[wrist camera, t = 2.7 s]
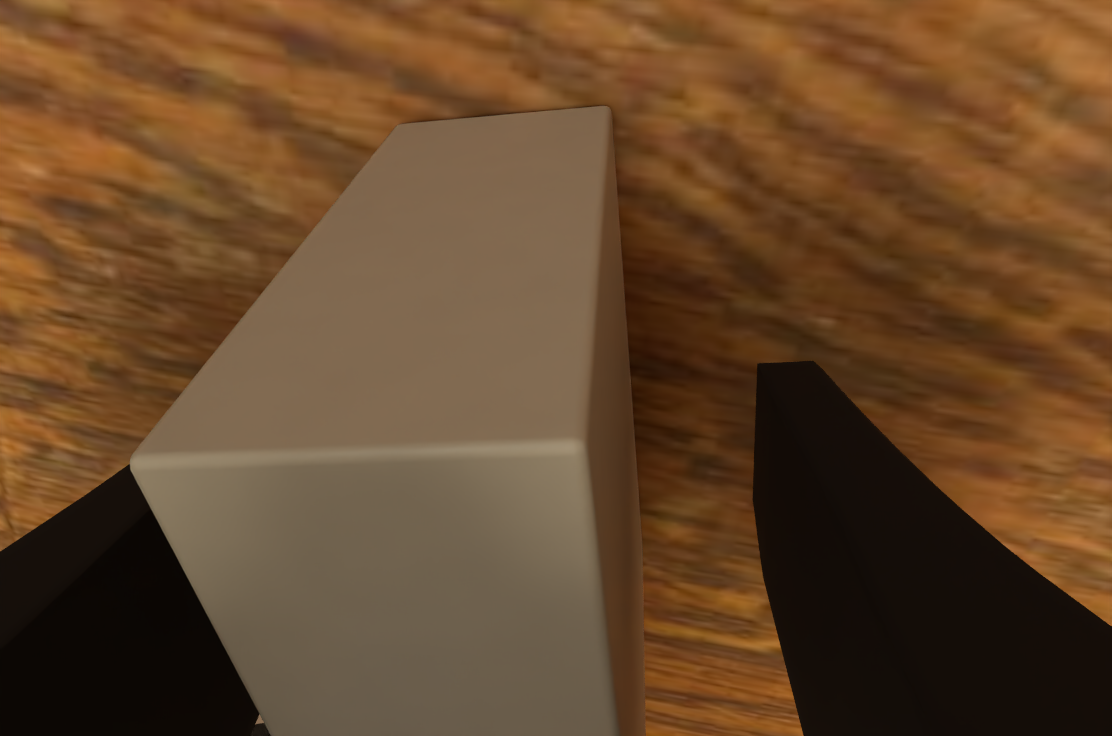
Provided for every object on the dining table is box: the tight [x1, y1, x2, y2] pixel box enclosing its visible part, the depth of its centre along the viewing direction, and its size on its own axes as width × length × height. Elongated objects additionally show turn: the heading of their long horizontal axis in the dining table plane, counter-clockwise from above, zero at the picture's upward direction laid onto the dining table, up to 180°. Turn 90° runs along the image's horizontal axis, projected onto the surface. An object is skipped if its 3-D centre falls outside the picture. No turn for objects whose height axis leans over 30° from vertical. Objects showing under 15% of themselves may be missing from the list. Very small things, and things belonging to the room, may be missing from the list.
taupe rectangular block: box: [130, 106, 646, 736], centre depth 8 cm, size 7×2×6 cm, turn 6°
